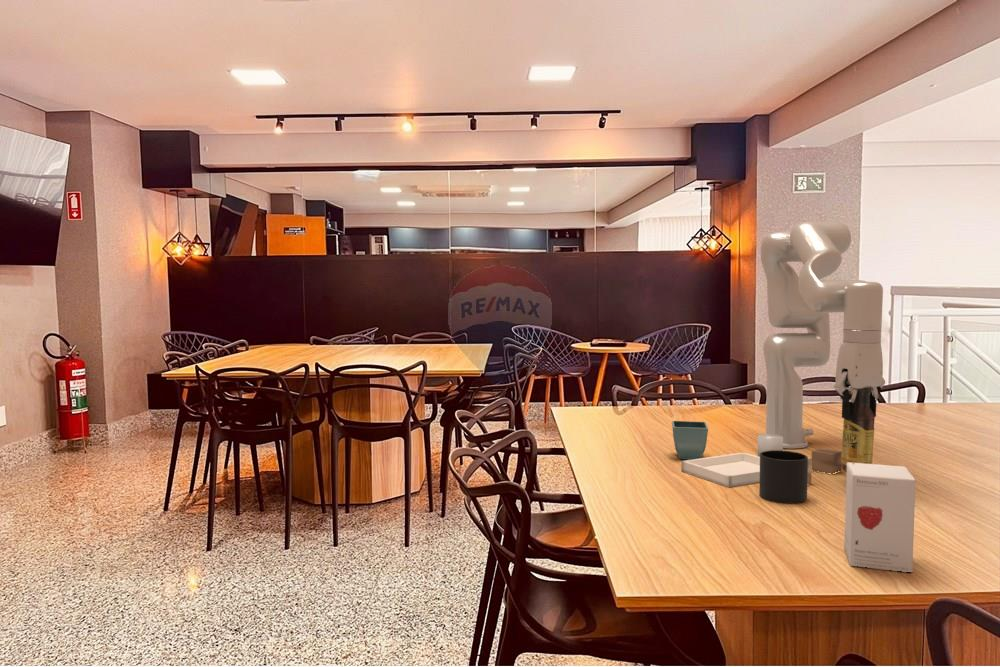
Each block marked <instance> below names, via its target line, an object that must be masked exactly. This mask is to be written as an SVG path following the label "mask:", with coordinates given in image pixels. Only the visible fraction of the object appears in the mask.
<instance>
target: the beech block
mask: <svg viewBox="0 0 1000 667" xmlns="http://www.w3.org/2000/svg"><path fill="white" fill-rule="evenodd" d="M807 457H808V477H807V484H811V485H812V457H809V456H807Z"/></svg>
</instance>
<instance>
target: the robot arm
mask: <svg viewBox="0 0 1000 667" xmlns="http://www.w3.org/2000/svg"><path fill="white" fill-rule="evenodd" d="M851 242H852V235H851V231H850V229H849V227H848V226H847V224H845V223H844V222H841V221H838V220H837V221H835V220H826V221H825V220H822V221H819V220H817V221H813V220H811V221H804V222H799V223H798V224H796V225H795V226H793V228H792V229H791V230H783V231H782V230H781V231H774V232H771V233H768V234H766V235H765V236H764V237H763V238H762V242H761V244H760V261H761V265H762V268H763V271H764V274H765V278H766V292H767V293H766V295H767V315H768V320H769V321H768V322H769V324H770V325H771V326H773V327H774V328H777V329H778V328H779V329H806V330H807V332H780V333H775V334H774V333H773V334H771V335H769V336H768V337H766V339H765V340H764V342H763V346H762V347H763V349H762V350H763V356H764V362H765V363H764V364H765V374H766V406H765V407H766V410H765V411H766V412H765V413H766V414H765V416H766V417H765V424H766V425H765V426H766V427H765V429H766V430H765V434H777V435H781V436H783V449H791V450H792V449H803V448H807V447H808V446H809V441H808V440H806V439H805V438H806V436H807V437H809V436H813V435H814V430H813V429H812V428H804V427H803V412H804V411H803V406H804V402H803V401H804V400H803V398H804V395H803V394H804V386H803V385H804V384H803V381H802V379H801V377H800V375H799V374H798V373H797V371H796V370H795V368H801V367H802V368H809V367H810V368H811V367H822V366H825V365H826V364H827V363H828V362H829V360H830V357H831V330H830V328H831V326H830V313H843V326H842V327H843V330H842V343H841V344H840V346H839V350H838V355H837V359H836V360H837V361H836V368H835V383H834V386H833V388H834V391H836V392H837V395H838V396H839V397H840V398H839V399H840V401H842V402H841V403H842V404H841V418H842V419H843V420H844V419H849V420H856V406H857V404H856V402H854V401H855V397H856V394H857V390H858V389H862V388H864V387H870V386H871V387H872V392H871V393H870V409H871V410H872V412H873V414H874V417H875V418H876V416H877V401H878V399H879V397H880V396H879V394H880V393H881V391H882V389H883V387H884V386H885V384H886V380H885V379H884V377H883V375H884V365H883V364H884V362H883V348H882V324H883V302H884V301H883V297H884V287H883V285H882V284H881V283H880V282H878V281H866V280H861V279H847V280H846V279H825V278H826V277H828V276H830V275H832V274H834V273H835V272H836V271H838V269H839V267H840V266H841V264H842V259H843V258H842V254H844V253H845V252H847V250H848V249H849V248H850V246H851ZM789 262H790V263H791V262H793V263H795V262H798V263H802V264H803V265H802V267H801V270H800V272H799V275H798V273H797V272H796V270H795V269H794V268H793V267H792V266H791V265H790V264H789ZM822 279H825V280H822ZM849 392H850V393H849Z"/></svg>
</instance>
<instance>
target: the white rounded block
mask: <svg viewBox="0 0 1000 667" xmlns="http://www.w3.org/2000/svg"><path fill="white" fill-rule="evenodd" d="M756 450H757V454H756V456H759V457H760V453H761V452H764V451H772V450H781V451H784V448H783V436H781V435H777V434H766V433H759V434H758V435H757V449H756Z"/></svg>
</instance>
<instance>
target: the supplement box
mask: <svg viewBox="0 0 1000 667" xmlns="http://www.w3.org/2000/svg"><path fill="white" fill-rule="evenodd" d="M845 481H846V484H845V486H846V487H845V488H846V489H845V508H844V509H845V514H844V515H845V516H844V540H843V541H844V544H843V547H844V550H845V553H846V554H845V555H846V556H847V560H848V563H849V565H850V567H857V566H858V567H857V568H859V567H860V568H865V567H867V568H868V569H873V570H874V569H875V570H883V571H889V570H892V571H891V572H897V571H902V572H901V573H906V572H913V570H914V568H913V566H914V563H913V562H914V536H915V510H916V509H915V507H916V506H915V505H916V504H915V503H916V479H915V477H914V476H913V475H912V473H911V472H910V471H909V470H908V468H907V467H906V466H903V465H902V466H901V465H889V464H877V463H876V464H875V463H872V464H864V463H851V462H848V463H847V472H846V480H845ZM867 568H866V569H867Z"/></svg>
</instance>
